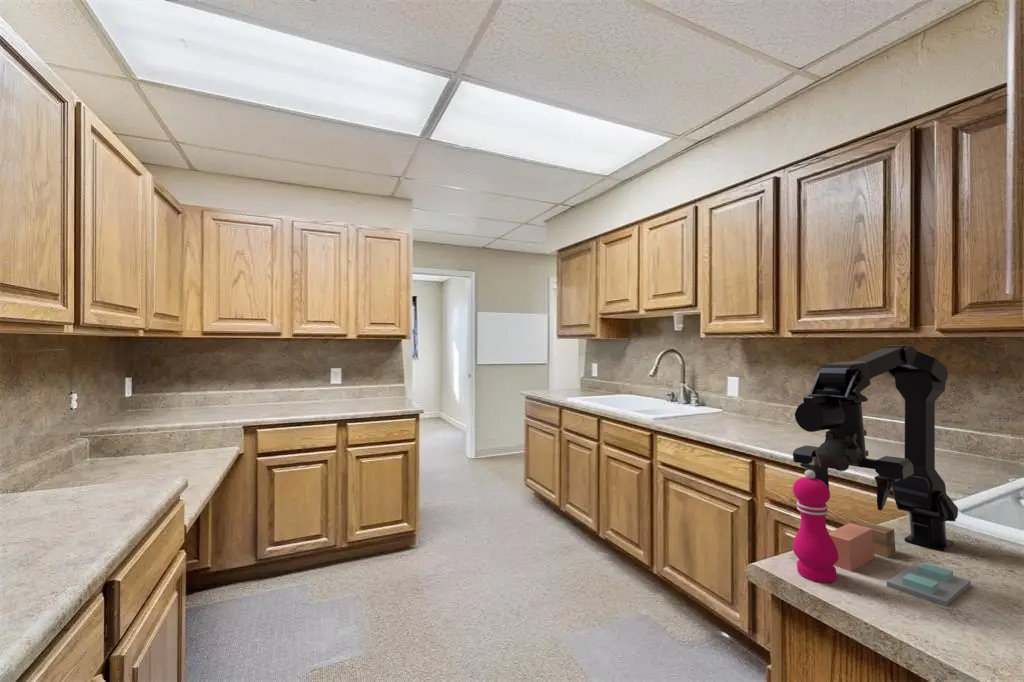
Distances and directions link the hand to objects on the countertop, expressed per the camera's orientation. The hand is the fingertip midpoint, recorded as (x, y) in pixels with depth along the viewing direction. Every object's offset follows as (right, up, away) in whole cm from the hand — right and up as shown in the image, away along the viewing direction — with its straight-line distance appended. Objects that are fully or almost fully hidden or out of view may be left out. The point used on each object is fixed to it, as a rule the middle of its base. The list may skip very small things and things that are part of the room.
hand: (852, 503), depth 89 cm
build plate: (+7, -11, -9) cm, 16 cm away
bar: (+1, -12, +1) cm, 12 cm away
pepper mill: (-10, -13, -4) cm, 16 cm away
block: (+9, -12, +4) cm, 16 cm away
